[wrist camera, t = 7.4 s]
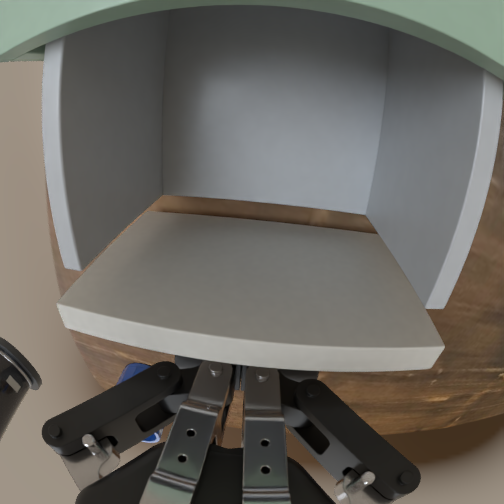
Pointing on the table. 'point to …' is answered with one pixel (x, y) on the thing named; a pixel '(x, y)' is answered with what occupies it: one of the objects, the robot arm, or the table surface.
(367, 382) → the table surface
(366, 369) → the drawer
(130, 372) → the cup
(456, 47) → the mint green cabinet box
